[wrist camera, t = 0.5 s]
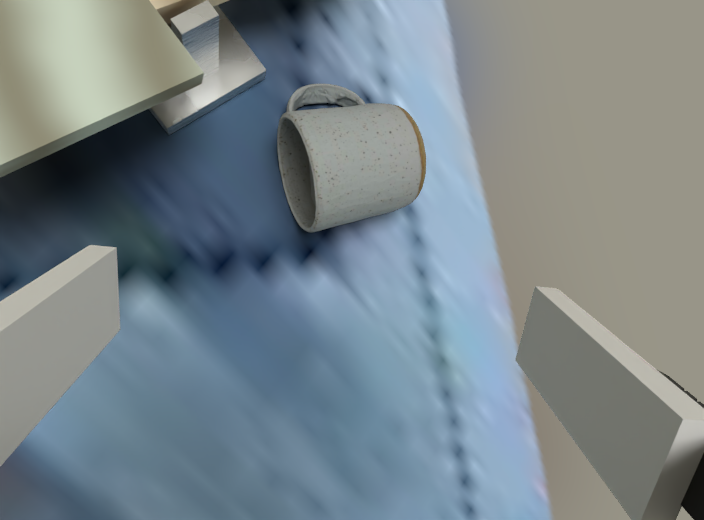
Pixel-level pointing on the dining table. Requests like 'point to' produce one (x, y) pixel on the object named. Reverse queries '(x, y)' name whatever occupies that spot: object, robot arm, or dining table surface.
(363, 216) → the ceramic mug
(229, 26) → the stand
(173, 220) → the dining table surface
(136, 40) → the balance beam
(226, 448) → the dining table surface
